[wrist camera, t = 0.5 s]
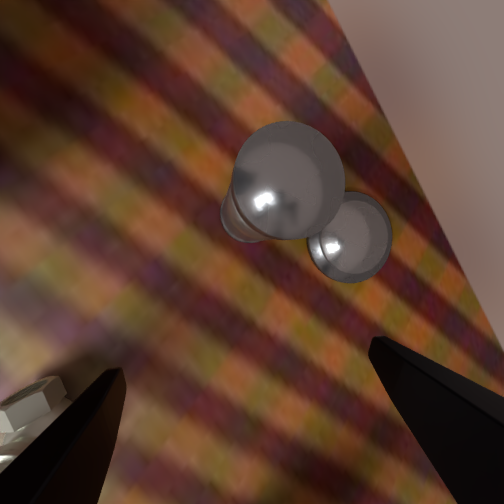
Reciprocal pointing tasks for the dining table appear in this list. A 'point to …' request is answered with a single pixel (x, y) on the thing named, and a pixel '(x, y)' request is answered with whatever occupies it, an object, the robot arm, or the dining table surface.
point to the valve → (29, 415)
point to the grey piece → (283, 185)
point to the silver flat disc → (353, 240)
